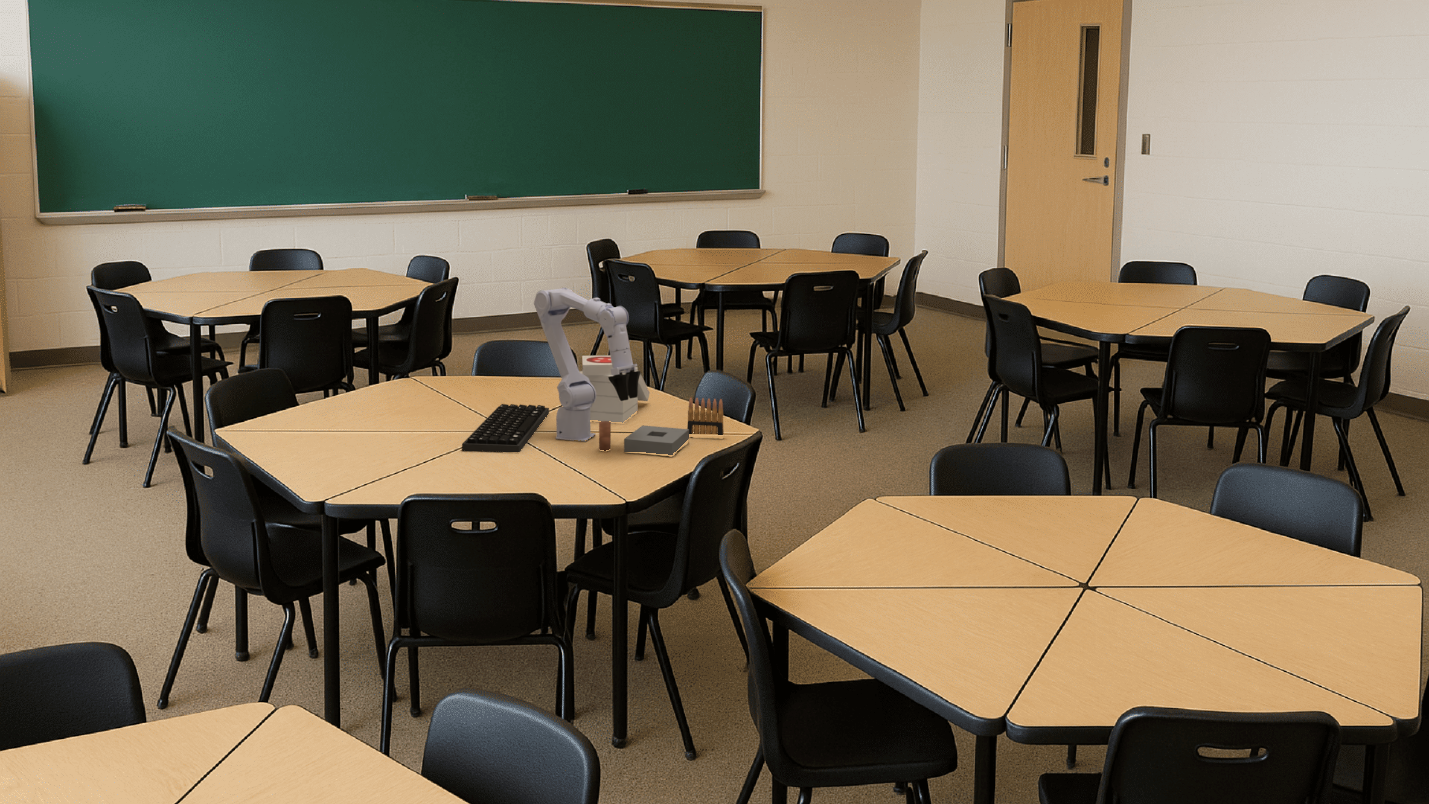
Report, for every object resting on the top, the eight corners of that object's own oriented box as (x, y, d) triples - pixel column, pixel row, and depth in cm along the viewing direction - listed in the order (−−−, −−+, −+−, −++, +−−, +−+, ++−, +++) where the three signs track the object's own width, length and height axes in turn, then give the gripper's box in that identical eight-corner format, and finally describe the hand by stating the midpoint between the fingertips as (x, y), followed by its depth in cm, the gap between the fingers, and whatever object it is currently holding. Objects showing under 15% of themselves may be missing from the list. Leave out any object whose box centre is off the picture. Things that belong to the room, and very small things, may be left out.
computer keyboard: (519, 455, 321) (518, 441, 320) (462, 453, 322) (461, 439, 321) (548, 416, 365) (548, 404, 364) (498, 414, 365) (498, 402, 365)
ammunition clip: (723, 438, 340) (724, 398, 338) (722, 439, 339) (723, 399, 336) (687, 436, 342) (688, 396, 339) (686, 437, 340) (687, 397, 337)
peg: (597, 451, 324) (597, 423, 322) (601, 448, 327) (601, 420, 325) (608, 452, 323) (608, 424, 321) (612, 449, 326) (612, 421, 324)
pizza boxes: (655, 404, 380) (655, 350, 376) (626, 426, 352) (626, 367, 347) (599, 400, 384) (599, 346, 380) (567, 421, 356) (566, 363, 352)
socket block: (624, 452, 323) (624, 438, 322) (642, 438, 338) (642, 425, 337) (672, 457, 319) (672, 443, 318) (688, 442, 334) (688, 429, 333)
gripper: (624, 349, 312) (633, 399, 312) (641, 346, 326) (650, 394, 326) (600, 353, 314) (609, 403, 314) (618, 351, 328) (627, 398, 328)
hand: (629, 399), depth 320 cm, fingers open, 7 cm apart
